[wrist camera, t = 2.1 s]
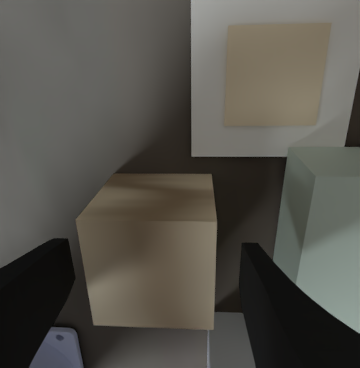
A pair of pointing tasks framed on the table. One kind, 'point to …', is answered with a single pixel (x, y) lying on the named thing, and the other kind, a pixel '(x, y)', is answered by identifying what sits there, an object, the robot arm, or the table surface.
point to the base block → (322, 228)
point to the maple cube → (151, 251)
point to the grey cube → (229, 342)
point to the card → (272, 75)
